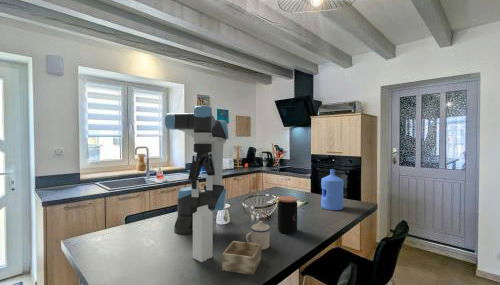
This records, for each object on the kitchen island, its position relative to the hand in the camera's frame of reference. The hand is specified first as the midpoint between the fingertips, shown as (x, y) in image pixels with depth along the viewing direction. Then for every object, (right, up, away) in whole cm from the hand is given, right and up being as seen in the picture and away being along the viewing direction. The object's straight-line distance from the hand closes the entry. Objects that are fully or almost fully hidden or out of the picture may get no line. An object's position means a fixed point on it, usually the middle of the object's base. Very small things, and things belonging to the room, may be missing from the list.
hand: (202, 193), depth 107 cm
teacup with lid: (+24, -28, +12) cm, 38 cm away
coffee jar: (+40, -27, +32) cm, 58 cm away
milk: (0, -28, +1) cm, 28 cm away
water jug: (+80, -26, +79) cm, 115 cm away
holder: (+17, -28, -5) cm, 33 cm away
